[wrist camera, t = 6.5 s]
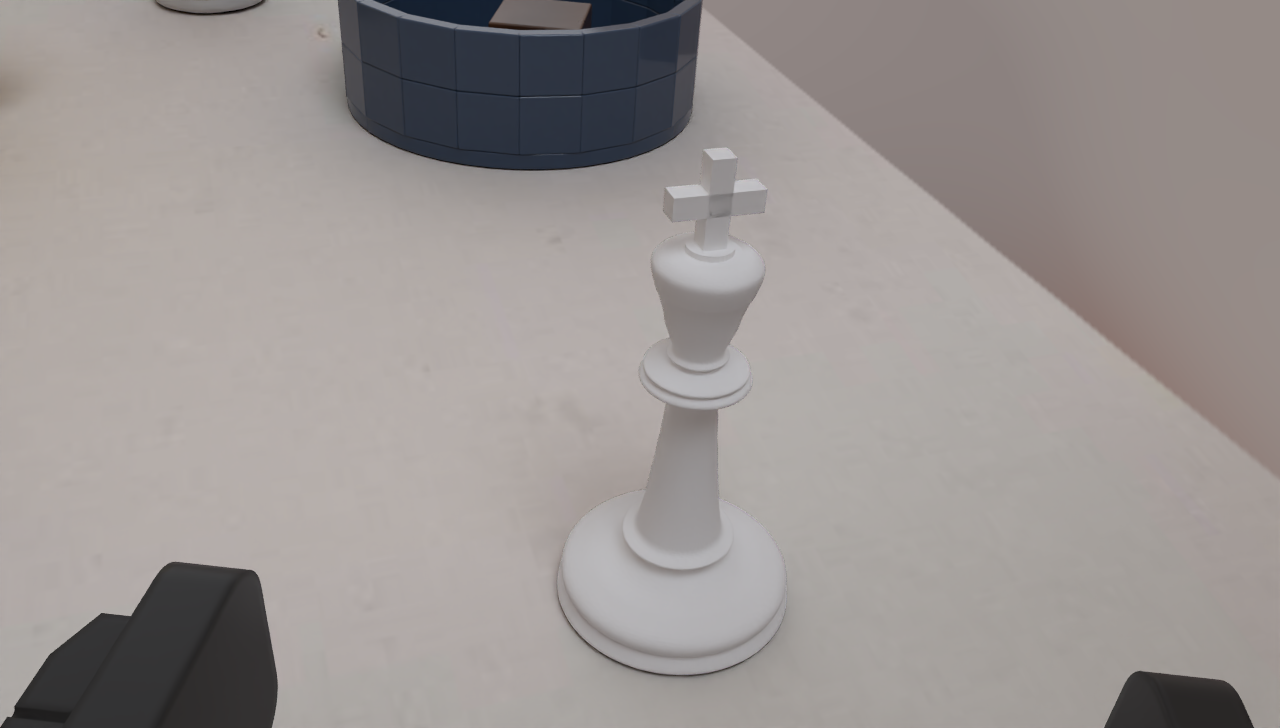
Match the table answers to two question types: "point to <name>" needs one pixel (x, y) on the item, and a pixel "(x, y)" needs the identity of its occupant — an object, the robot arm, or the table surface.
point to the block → (542, 15)
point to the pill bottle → (207, 5)
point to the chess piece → (685, 467)
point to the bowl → (520, 80)
